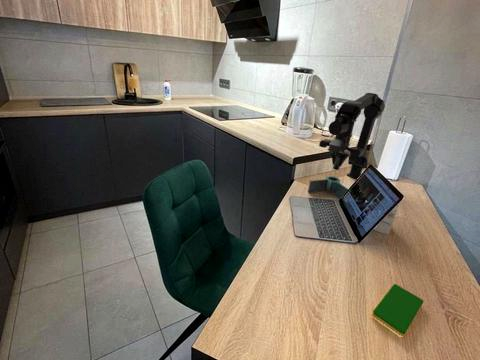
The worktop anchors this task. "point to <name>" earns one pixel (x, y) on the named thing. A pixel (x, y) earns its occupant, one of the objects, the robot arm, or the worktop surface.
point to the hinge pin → (337, 160)
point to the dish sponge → (397, 309)
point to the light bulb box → (386, 222)
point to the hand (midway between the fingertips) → (336, 165)
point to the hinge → (328, 186)
